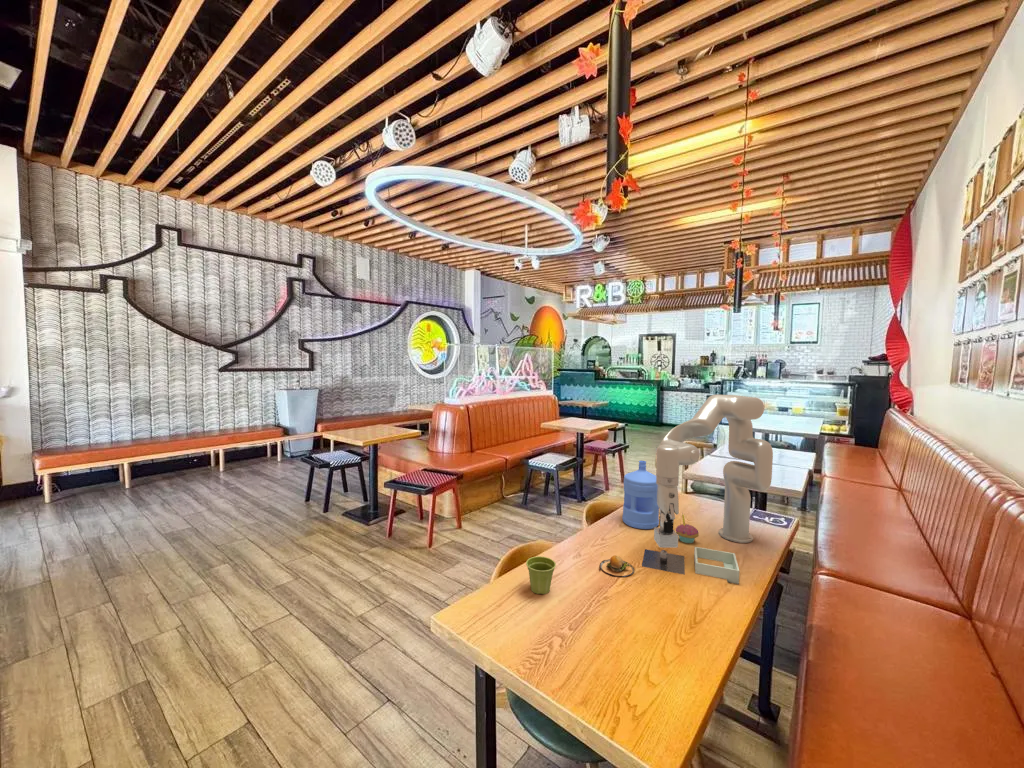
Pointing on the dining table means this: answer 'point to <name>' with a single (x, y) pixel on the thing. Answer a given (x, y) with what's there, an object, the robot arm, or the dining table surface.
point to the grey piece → (665, 535)
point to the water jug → (640, 499)
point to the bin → (726, 572)
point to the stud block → (664, 561)
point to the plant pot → (540, 573)
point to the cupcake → (686, 532)
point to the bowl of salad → (616, 565)
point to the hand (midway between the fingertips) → (666, 529)
